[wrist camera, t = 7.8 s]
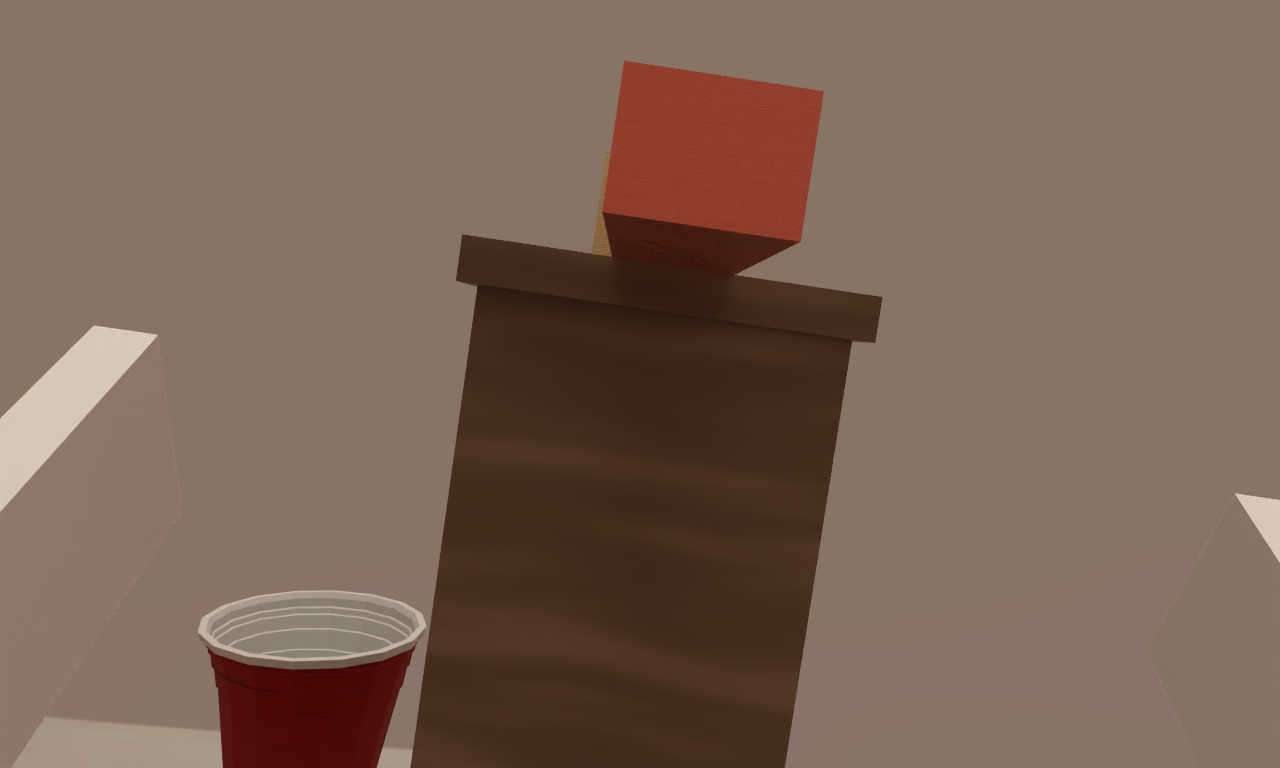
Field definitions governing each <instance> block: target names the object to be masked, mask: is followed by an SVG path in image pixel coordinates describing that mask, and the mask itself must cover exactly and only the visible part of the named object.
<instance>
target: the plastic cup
mask: <svg viewBox="0 0 1280 768" xmlns="http://www.w3.org/2000/svg"><path fill="white" fill-rule="evenodd" d="M425 629H426V624H425V621H424V618H423V615H422V613H420V612H419V611H417V610H415V609H413V608H412V607H410V606H408V605H407V604H405V603H403V602H400V601H396V600H392V599H388V598H384V597H380V596H376V595H373V594H363V593H353V592H344V591H291V592H284V593H276V594H268V595H261V596H254V597H250V598H247V599H243V600H240V601H236V602H233V603H229V604H226V605H222V606H221V607H219V608H218V609H216V610H214V611H213V612H211V613H209V614H208V615H206V616H204V617H203V618H202V620H201V623H200V627H199V630H198V634H199V638H200V640H201V641H202V642H203V643H204V644H205V645H206V647H207V648H208V653H209V654H210V656H211V664H212V667H213V668H214V673H215V682H216V687H217V688H218V696H219V712H220V728H221V744H222V760H223V768H377V764H378V761H379V758H380V754H381V751H382V747H383V744H384V741H385V737H386V734H387V730H388V727H389V724H390V720H391V717H392V713H393V710H394V707H395V703H396V700H397V696H398V693H399V689H400V688H401V687H402V685H403V681H404V677H405V673H406V669H407V667H408V666H409V664H410V660H411V656H412V652H413V651H414V650H415V646H416V644H417V643H418V641H419V640H420V639H421V638H422V636H423V635H424V632H425Z"/></svg>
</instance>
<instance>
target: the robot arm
mask: <svg viewBox="0 0 1280 768" xmlns="http://www.w3.org/2000/svg"><path fill="white" fill-rule="evenodd" d="M181 512H182V505H181V498H180V490H179V483H178V476H177V468H176V461H175V454H174V447H173V439H172V432H171V425H170V417H169V411H168V403H167V395H166V388H165V381H164V373H163V366H162V359H161V352H160V344H159V337H158V335H155V334H148V333H141V332H134V331H128V330H121V329H114V328H107V327H100V326H93V327H92V328H91V329H90V331H88V332H87V333H86V334H85V335H84V336H83V337H82V338H81V339H80V340H79V341H78V342H77V343H76V344H75V345H74V346H73V347H72V348H71V349H70V350H69V351H68V352H67V353H66V354H65V355H64V356H63V357H62V358H61V359H60V360H59V361H58V362H57V363H56V364H55V365H54V366H53V367H52V368H51V369H50V370H49V371H48V372H47V373H46V374H45V375H44V376H43V377H42V378H41V379H40V380H39V381H38V382H37V383H36V384H35V385H34V386H33V387H32V388H31V389H30V390H29V391H28V392H27V393H26V394H25V395H24V396H23V397H22V398H21V399H20V400H19V401H18V402H17V403H16V404H15V405H14V406H13V407H12V408H10V410H9V411H7V412H6V413H5V414H4V415H3V416H2V417H1V418H0V768H11V766H12V765H13V763H14V762H15V760H16V759H17V758H18V756H19V755H20V753H21V752H22V750H23V749H24V747H25V746H26V744H27V743H28V741H29V740H30V738H31V737H32V735H33V734H34V732H35V731H36V729H37V728H38V726H39V725H40V723H41V722H42V720H43V719H44V717H45V716H46V714H47V713H48V711H49V710H50V708H51V707H52V705H53V704H54V702H55V701H56V699H57V698H58V696H59V694H60V693H61V692H62V690H63V689H64V687H65V686H66V684H67V683H68V681H69V680H70V678H71V677H72V675H73V674H74V672H75V671H76V669H77V668H78V666H79V665H80V663H81V662H82V660H83V659H84V657H85V656H86V654H87V653H88V651H89V650H90V648H91V647H92V645H93V644H94V642H95V641H96V639H97V638H98V636H99V635H100V633H101V632H102V631H103V629H104V628H105V626H106V625H107V623H108V621H109V620H110V619H111V617H112V616H113V614H114V612H115V611H116V610H117V608H118V607H119V605H120V603H121V602H122V600H123V599H124V598H125V596H126V594H127V593H128V592H129V590H130V589H131V587H132V586H133V584H134V582H135V581H136V580H137V578H138V577H139V575H140V574H141V572H142V571H143V569H144V568H145V566H146V565H147V563H148V561H149V560H150V559H151V557H152V556H153V554H154V553H155V551H156V550H157V548H158V547H159V545H160V544H161V542H162V541H163V539H164V538H165V536H166V535H167V533H168V532H169V530H170V529H171V527H172V526H173V524H174V523H175V521H176V520H177V518H178V517H179V515H180V514H181ZM1146 652H1147V654H1148V656H1149V659H1150V661H1151V663H1152V665H1153V668H1154V670H1155V672H1156V674H1157V677H1158V679H1159V681H1160V683H1161V685H1162V688H1163V690H1164V692H1165V694H1166V696H1167V699H1168V701H1169V703H1170V705H1171V708H1172V710H1173V712H1174V714H1175V717H1176V719H1177V721H1178V723H1179V725H1180V728H1181V730H1182V732H1183V735H1184V737H1185V739H1186V741H1187V743H1188V746H1189V748H1190V750H1191V752H1192V755H1193V757H1194V759H1195V761H1196V763H1197V766H1198V768H1280V500H1275V499H1268V498H1261V497H1255V496H1248V495H1241V494H1234V496H1233V498H1232V500H1231V501H1230V503H1229V505H1228V507H1227V508H1226V510H1225V512H1224V514H1223V515H1222V517H1221V519H1220V521H1219V522H1218V524H1217V526H1216V528H1215V530H1214V532H1213V533H1212V535H1211V537H1210V538H1209V540H1208V542H1207V544H1206V545H1205V547H1204V549H1203V551H1202V552H1201V554H1200V556H1199V558H1198V559H1197V561H1196V563H1195V565H1194V567H1193V568H1192V570H1191V572H1190V574H1189V575H1188V577H1187V579H1186V581H1185V582H1184V584H1183V586H1182V588H1181V590H1180V591H1179V593H1178V595H1177V596H1176V598H1175V600H1174V602H1173V603H1172V605H1171V607H1170V609H1169V611H1168V613H1167V614H1166V616H1165V618H1164V619H1163V621H1162V623H1161V625H1160V626H1159V628H1158V630H1157V632H1156V633H1155V635H1154V637H1153V639H1152V641H1151V642H1150V644H1149V646H1148V648H1147V649H1146Z"/></svg>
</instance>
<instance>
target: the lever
mask: <svg viewBox="0 0 1280 768" xmlns="http://www.w3.org/2000/svg"><path fill="white" fill-rule="evenodd" d="M823 92H824V91H819V90H812V89H805V88H799V87H792V86H785V85H779V84H772V83H766V82H759V81H753V80H746V79H740V78H733V77H727V76H720V75H713V74H707V73H701V72H694V71H688V70H681V69H674V68H668V67H661V66H655V65H648V64H642V63H635V62H629V61H624V66H623V73H622V79H621V86H620V93H619V100H618V107H617V114H616V121H615V128H614V135H613V141H612V148H611V153H609V152H606V159H605V166H604V173H603V180H602V187H601V194H600V201H599V207H598V215H597V221H596V228H595V235H594V242H593V249H592V254H597V255H603V256H610V257H617V258H624V259H630V260H637V261H644V262H650V263H657V264H664V265H670V266H677V267H684V268H691V269H697V270H704V271H711V272H717V273H724V274H731V275H738V273H739V272H741V271H743V270H745V269H747V268H749V267H751V266H753V265H755V264H757V263H759V262H761V261H763V260H765V259H767V258H769V257H771V256H773V255H775V254H777V253H779V252H781V251H783V250H785V249H787V248H789V247H791V246H793V245H795V244H797V243H799V242H800V241H801V235H802V229H803V222H804V216H805V209H806V203H807V196H808V189H809V183H810V176H811V170H812V163H813V157H814V151H815V144H816V138H817V132H818V124H819V119H820V112H821V106H822V99H823Z"/></svg>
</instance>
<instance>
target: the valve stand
mask: <svg viewBox="0 0 1280 768" xmlns="http://www.w3.org/2000/svg"><path fill="white" fill-rule="evenodd" d="M456 281H459V282H463V283H466V284H470V285H473V286H477V294H476V302H475V309H474V316H473V323H472V330H471V338H470V344H469V352H468V359H467V366H466V374H465V380H464V388H463V395H462V402H461V409H460V416H459V423H458V431H457V438H456V445H455V452H454V459H453V466H452V474H451V481H450V488H449V495H448V502H447V510H446V517H445V525H444V531H443V538H442V545H441V553H440V560H439V567H438V574H437V581H436V588H435V596H434V603H433V610H432V617H431V625H430V632H429V639H428V646H427V653H426V660H425V667H424V674H423V682H422V689H421V696H420V703H419V711H418V718H417V725H416V732H415V739H414V746H413V753H412V761H411V768H785V763H786V756H787V750H788V743H789V737H790V731H791V725H792V718H793V712H794V705H795V699H796V693H797V686H798V680H799V673H800V667H801V661H802V655H803V648H804V642H805V636H806V629H807V623H808V617H809V610H810V604H811V598H812V591H813V584H814V579H815V572H816V566H817V560H818V553H819V547H820V541H821V533H822V528H823V522H824V515H825V509H826V502H827V496H828V489H829V484H830V477H831V471H832V465H833V458H834V452H835V446H836V439H837V433H838V427H839V420H840V413H841V407H842V401H843V395H844V389H845V382H846V376H847V370H848V363H849V357H850V351H851V344H852V342H869V343H875V340H876V335H877V328H878V322H879V316H880V309H881V303H882V297H878V296H872V295H864V294H858V293H852V292H845V291H838V290H831V289H824V288H817V287H811V286H805V285H798V284H791V283H784V282H778V281H771V280H764V279H757V278H751V277H744V276H738V275H731V274H724V273H717V272H711V271H704V270H697V269H691V268H684V267H677V266H670V265H664V264H657V263H650V262H644V261H637V260H630V259H624V258H617V257H610V256H603V255H597V254H590V253H583V252H577V251H570V250H563V249H556V248H550V247H543V246H536V245H530V244H523V243H516V242H510V241H503V240H496V239H489V238H482V237H476V236H469V235H462V241H461V248H460V255H459V263H458V269H457V277H456Z"/></svg>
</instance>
